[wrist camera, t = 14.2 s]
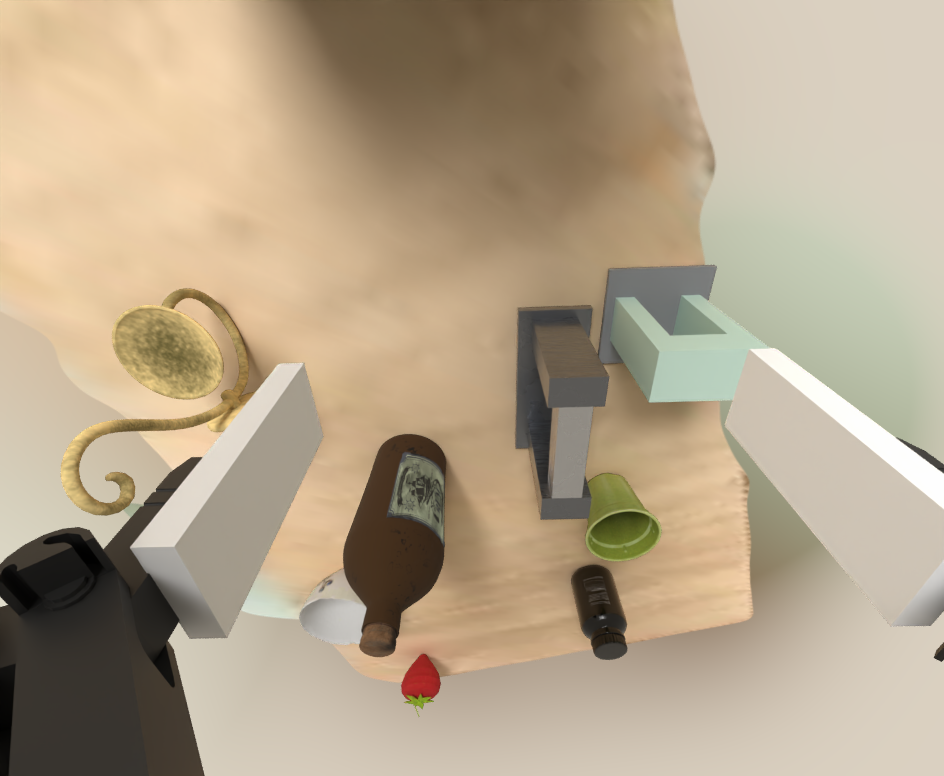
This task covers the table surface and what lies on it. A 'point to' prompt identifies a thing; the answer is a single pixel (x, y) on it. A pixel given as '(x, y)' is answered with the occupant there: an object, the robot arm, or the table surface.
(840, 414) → the robot arm
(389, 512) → the olive oil
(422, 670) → the strawberry
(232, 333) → the wall sconce
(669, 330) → the gray rectangular panel
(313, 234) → the table surface
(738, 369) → the mint green u-shaped block
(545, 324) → the stand
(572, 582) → the supplement bottle
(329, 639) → the teacup
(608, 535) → the plant pot
